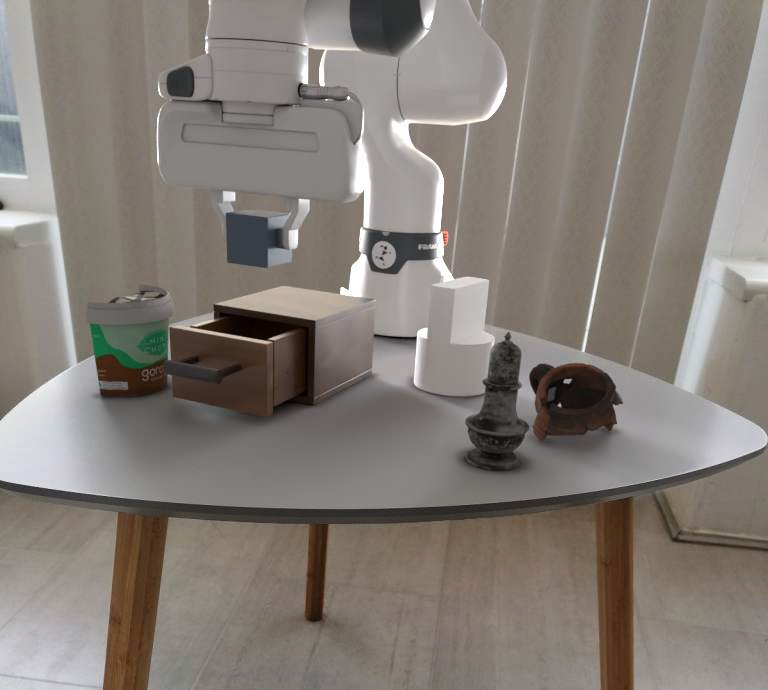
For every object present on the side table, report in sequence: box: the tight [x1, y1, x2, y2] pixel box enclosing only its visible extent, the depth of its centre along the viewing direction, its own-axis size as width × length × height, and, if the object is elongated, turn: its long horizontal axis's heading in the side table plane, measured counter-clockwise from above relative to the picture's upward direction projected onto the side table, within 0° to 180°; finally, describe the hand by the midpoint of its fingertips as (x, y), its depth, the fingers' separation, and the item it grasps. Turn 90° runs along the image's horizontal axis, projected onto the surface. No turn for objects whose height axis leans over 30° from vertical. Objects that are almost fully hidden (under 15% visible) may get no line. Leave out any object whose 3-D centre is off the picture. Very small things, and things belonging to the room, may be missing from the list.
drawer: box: [163, 314, 309, 418], centre depth 86 cm, size 18×11×7 cm, turn 155°
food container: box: [85, 283, 176, 398], centre depth 90 cm, size 12×6×10 cm, turn 168°
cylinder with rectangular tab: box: [413, 276, 496, 397], centre depth 97 cm, size 9×9×12 cm
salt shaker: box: [464, 331, 530, 472], centre depth 75 cm, size 6×6×12 cm
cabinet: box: [212, 285, 376, 406], centre depth 96 cm, size 15×13×9 cm
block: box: [226, 208, 293, 269], centre depth 79 cm, size 4×4×4 cm
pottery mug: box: [529, 362, 624, 442], centre depth 85 cm, size 12×10×8 cm
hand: (259, 245), depth 79 cm, fingers closed on block, 4 cm apart
